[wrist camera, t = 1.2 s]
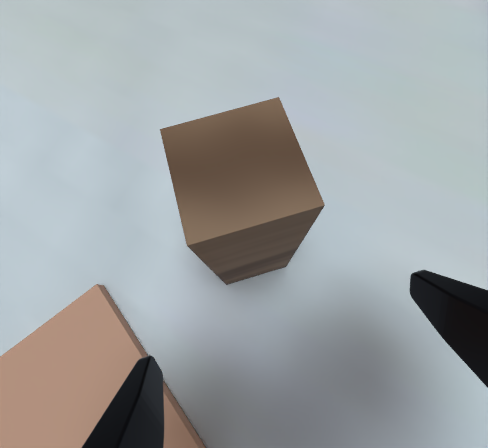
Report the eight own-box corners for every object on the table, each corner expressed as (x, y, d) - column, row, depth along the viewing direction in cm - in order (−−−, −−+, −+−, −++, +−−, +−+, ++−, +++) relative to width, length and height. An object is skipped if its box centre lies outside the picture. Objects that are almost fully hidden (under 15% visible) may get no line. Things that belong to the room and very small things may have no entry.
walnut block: (286, 266, 22) (324, 205, 10) (226, 284, 22) (186, 245, 9) (266, 211, 23) (278, 97, 11) (211, 227, 23) (160, 129, 11)
